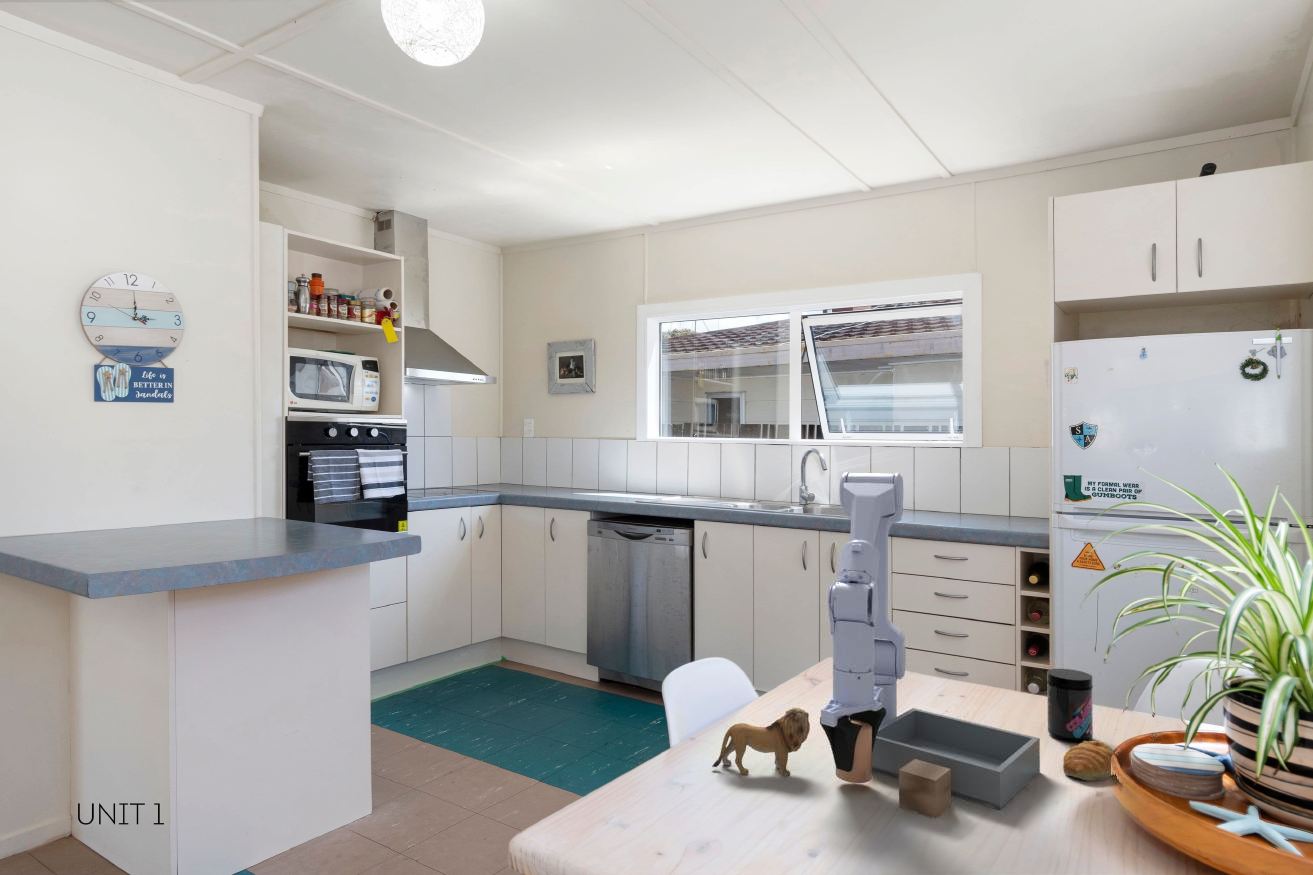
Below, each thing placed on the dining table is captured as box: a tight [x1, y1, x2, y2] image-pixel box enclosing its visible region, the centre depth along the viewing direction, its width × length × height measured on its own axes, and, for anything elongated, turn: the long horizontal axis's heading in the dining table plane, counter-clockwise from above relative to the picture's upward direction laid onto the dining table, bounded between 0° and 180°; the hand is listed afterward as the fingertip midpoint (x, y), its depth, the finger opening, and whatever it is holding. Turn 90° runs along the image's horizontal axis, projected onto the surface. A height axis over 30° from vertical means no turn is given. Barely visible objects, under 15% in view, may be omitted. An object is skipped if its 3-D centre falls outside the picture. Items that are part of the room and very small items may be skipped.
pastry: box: [1062, 740, 1114, 782], centre depth 115 cm, size 9×7×4 cm
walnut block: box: [898, 759, 952, 820], centre depth 103 cm, size 5×5×5 cm
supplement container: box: [1046, 668, 1094, 744], centre depth 129 cm, size 7×7×10 cm
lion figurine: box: [711, 707, 811, 777], centre depth 115 cm, size 15×5×9 cm, turn 93°
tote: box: [872, 707, 1041, 811], centre depth 115 cm, size 20×17×5 cm
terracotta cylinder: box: [835, 720, 873, 784], centre depth 109 cm, size 5×5×7 cm
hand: (853, 763), depth 109 cm, fingers closed on terracotta cylinder, 5 cm apart
